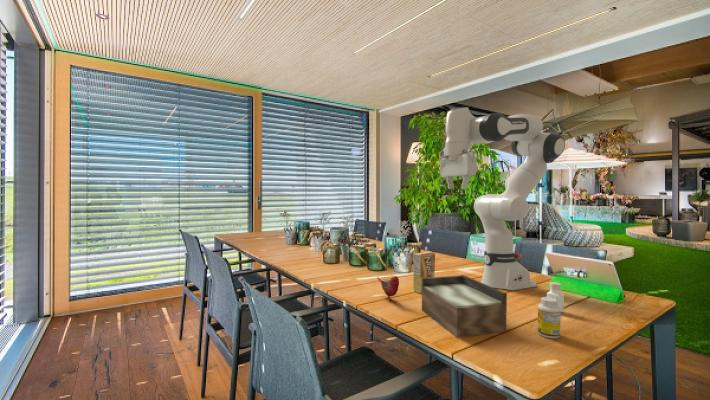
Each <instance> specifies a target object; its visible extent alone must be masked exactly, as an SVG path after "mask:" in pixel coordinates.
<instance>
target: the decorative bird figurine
mask: <svg viewBox="0 0 710 400" xmlns="http://www.w3.org/2000/svg"><path fill="white" fill-rule="evenodd" d="M377 279H378V281H379V282H380V284H381V288H382V290H383V291H384V294H386V295H387V297H386V299H387V300H389V301H390V302H394V300H393V299H392V298H391V297H394V296H396V295H397V293H398V290H399V285H400V279H399V278H398V276H396V275H395V276H392V277H391V278H390V279H386V280H382V279H381V278H380V277H379V276H377Z"/></svg>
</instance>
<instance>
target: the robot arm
mask: <svg viewBox="0 0 710 400" xmlns="http://www.w3.org/2000/svg"><path fill="white" fill-rule="evenodd" d="M543 128H544V123H543V120H542V119H541V118H540V117H539V116H536V115H534V114H528V113H518V114H513V115H510V116H506V115H504V114H502V113H500V112H493V113H489V114H487V115H484V116H478V117H476V116H474V115H473V114H472V113H471V112H470V109H469V107H467V106H461V107H455V108H451V109H449V110H448V111H447V114H446V119H445V135H446V140H445V143H444V144H445V147H444V148H443V149H441V151H440V152H439V154H438V155H439V157H438V158H439V159H440V161H439V173H440V176H441V177H442V178H445V180H446V183H447V188H448V190H451V189H452V190H453V189H454V188H455V185H454V182H453V178H456V177H458V178H459V177H462V178H461V179H463V180H462V183H461V184H460V188H461V189H462V190H464V189H468V184H469V182H470V178H471V177H470V176H476V175H477V172H478V164H477V157H476V155H475V152H474V150H473V149H472V148H471V145H477V144H478V145H479V144H484V143H490V142H491V143H493V142H501V141H502V140H506V141H508V142H510V148H511V151H512V153H513V154H515V155H516V156H519V157H525V159H524V161H523V162H522V163H521V164H520V165H519V166H518V167H517V168H516V169H515V170H514V171H513V172H512V173H511V174H510V175H509V176H508V177H507V178H506V179H505V181H504V188H505V190H504V191H503V192H502V193H499V194H498V193H497V194H496V193H488V194H483V195H479V196H478V197H477V198H475V200H474V204H473V210H474V212H475V214H476V215H477V216H478V218H479V219H480V221H481V223H482V226H483V227H482V228H483V231H484V241H485V242H484V244H485V246H484V251H483V261H484V267H483V273H482V277H481V280H480V282H481V283H483V284H486V285H488V286H490V287H492V288H495V289H500V290H501V289H502V290H508V291H518V290H523V289H530V288H535V287H537V283H536V282H535V281H533V280H531V273H530V272H529V271H530V270H528V269H527V268H526V267H524V266H523V265H522V264H521V263H520V262H518V261H517V259H519V260H520V259H522V257H523V256H522V254H521V253H519V252H518V253H514V235H513V234H514V233H512V231H511V230H510V229H509V228H508V226H507V224H506V221H508V222H514V221H520V220H523V219H524V218H526V216H527V215H528V212H529V209H530V208H529V202H528V200H527V198H528V197H529V196H530V194H531V192H532V191H533V190H534V189H535V188H536V187H537V185H538V184H539V183H540V182H541V181H542V179H543V177H544V176H545V174H546V172H547V170H548V164H551V163H553V162H555V160H557V159H558V158H559V157H560V156H561V155H562V154H563V153H564V151H565V147H566V140H565V139H564V136H562V135H560V134H557V133H553V132H552V133H550V132H543Z"/></svg>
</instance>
